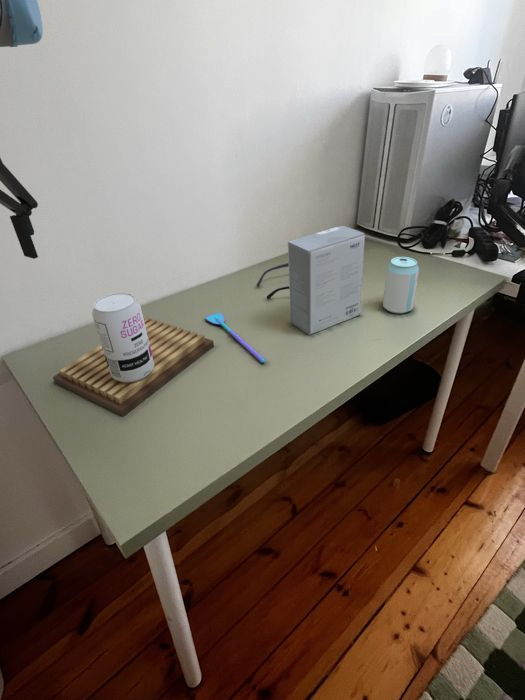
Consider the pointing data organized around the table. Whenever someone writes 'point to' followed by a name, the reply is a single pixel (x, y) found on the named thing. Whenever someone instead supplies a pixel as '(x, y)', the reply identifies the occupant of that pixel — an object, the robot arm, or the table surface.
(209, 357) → the table surface
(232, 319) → the table surface
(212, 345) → the scrub board
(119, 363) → the supplement can
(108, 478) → the table surface
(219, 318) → the spoon
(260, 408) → the table surface
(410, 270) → the can
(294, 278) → the hard drive box
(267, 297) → the sunglasses
